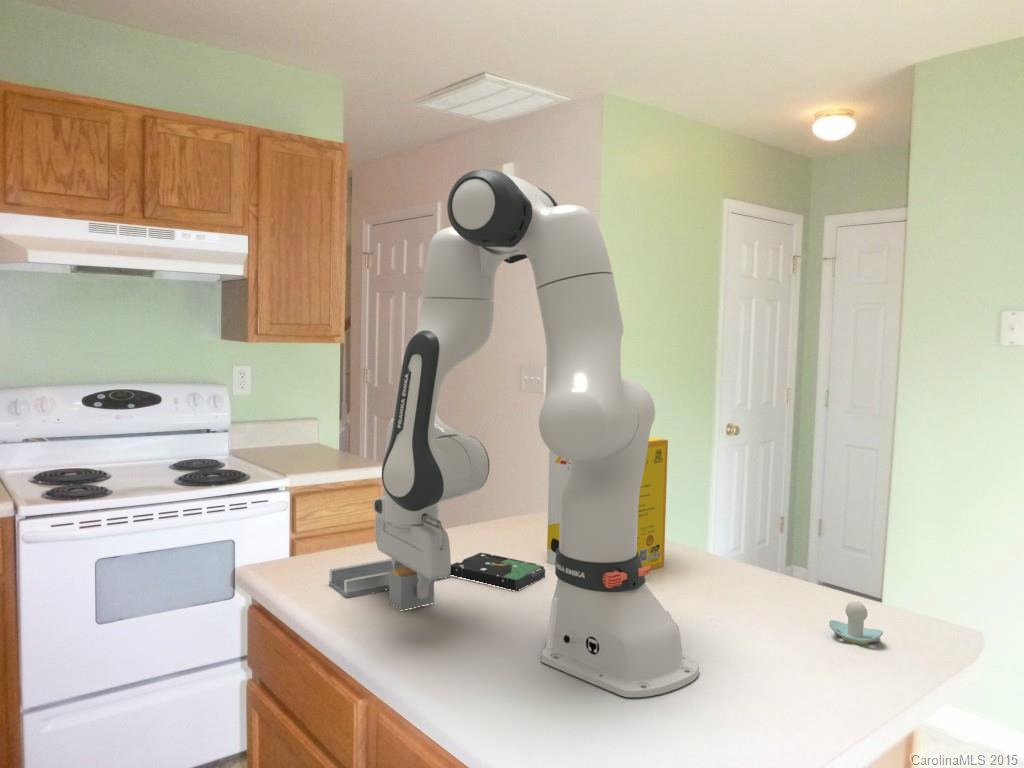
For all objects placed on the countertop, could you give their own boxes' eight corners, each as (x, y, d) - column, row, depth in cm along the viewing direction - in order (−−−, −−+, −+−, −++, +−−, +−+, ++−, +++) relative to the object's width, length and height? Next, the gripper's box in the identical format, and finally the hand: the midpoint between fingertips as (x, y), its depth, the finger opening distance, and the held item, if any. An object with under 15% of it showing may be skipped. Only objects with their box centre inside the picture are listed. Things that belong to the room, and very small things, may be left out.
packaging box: (546, 562, 149) (549, 436, 148) (601, 547, 160) (604, 430, 159) (609, 583, 137) (613, 447, 136) (664, 566, 148) (668, 439, 147)
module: (433, 604, 126) (434, 569, 125) (401, 611, 122) (401, 575, 122) (421, 596, 129) (421, 562, 129) (389, 603, 126) (389, 568, 125)
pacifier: (833, 628, 119) (826, 640, 114) (835, 589, 118) (828, 599, 113) (885, 639, 115) (880, 652, 110) (887, 599, 114) (882, 609, 109)
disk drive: (448, 580, 140) (517, 595, 132) (448, 565, 140) (517, 579, 132) (479, 565, 149) (546, 578, 141) (480, 551, 148) (546, 564, 141)
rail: (449, 577, 139) (449, 562, 139) (346, 598, 128) (347, 581, 127) (428, 566, 146) (428, 551, 145) (329, 584, 134) (329, 569, 134)
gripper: (461, 519, 118) (460, 606, 119) (401, 494, 134) (400, 571, 135) (425, 524, 114) (424, 614, 115) (368, 498, 131) (368, 577, 132)
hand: (411, 590), depth 125 cm, fingers open, 5 cm apart
